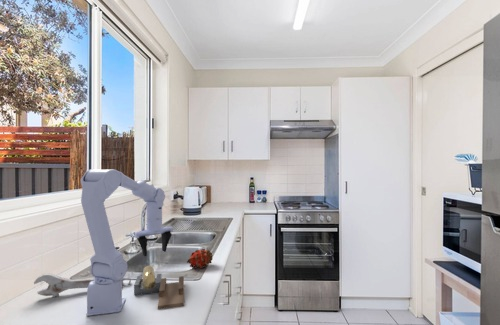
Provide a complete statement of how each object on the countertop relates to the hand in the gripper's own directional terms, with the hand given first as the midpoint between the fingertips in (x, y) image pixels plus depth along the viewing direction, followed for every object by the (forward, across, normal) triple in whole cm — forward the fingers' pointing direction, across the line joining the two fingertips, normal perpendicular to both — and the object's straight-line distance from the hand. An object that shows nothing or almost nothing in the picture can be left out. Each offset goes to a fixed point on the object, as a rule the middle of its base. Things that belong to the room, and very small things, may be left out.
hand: (154, 253), depth 107 cm
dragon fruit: (+11, +20, -1) cm, 22 cm away
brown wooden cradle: (+10, 0, -16) cm, 19 cm away
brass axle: (+6, -4, -6) cm, 9 cm away
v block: (+10, -5, -6) cm, 13 cm away
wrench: (+11, -22, +7) cm, 26 cm away
